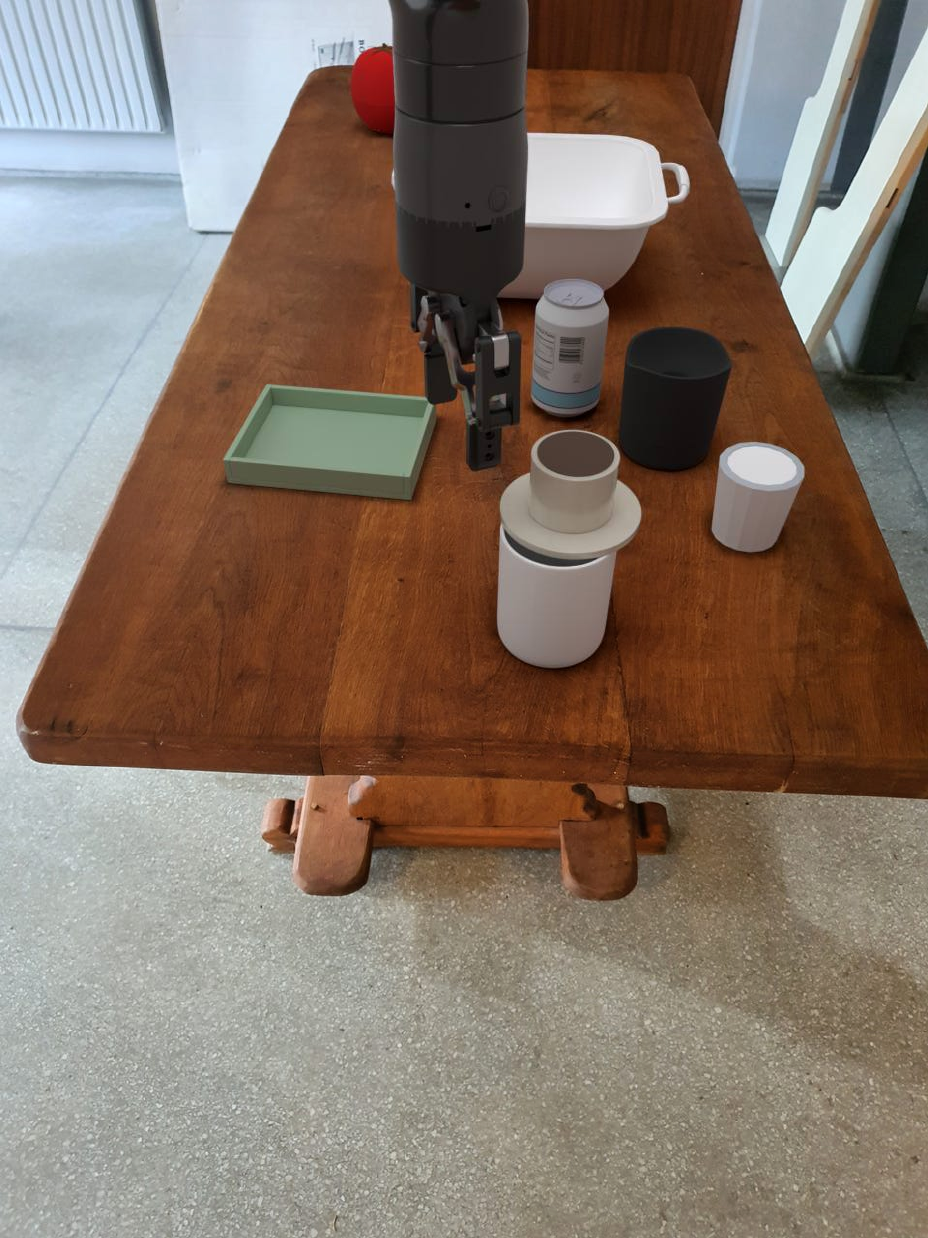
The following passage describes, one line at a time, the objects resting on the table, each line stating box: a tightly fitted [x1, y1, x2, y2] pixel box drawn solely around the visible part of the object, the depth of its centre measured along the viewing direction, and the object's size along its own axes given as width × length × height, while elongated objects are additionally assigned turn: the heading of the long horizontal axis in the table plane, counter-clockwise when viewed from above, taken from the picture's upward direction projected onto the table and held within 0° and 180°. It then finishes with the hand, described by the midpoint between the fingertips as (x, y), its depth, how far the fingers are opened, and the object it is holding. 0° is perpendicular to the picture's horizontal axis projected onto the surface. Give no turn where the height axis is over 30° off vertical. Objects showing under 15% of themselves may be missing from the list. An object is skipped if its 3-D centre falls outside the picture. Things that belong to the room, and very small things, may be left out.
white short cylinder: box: [711, 441, 806, 553], centre depth 79 cm, size 7×7×7 cm
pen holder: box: [618, 325, 733, 471], centre depth 88 cm, size 9×9×10 cm
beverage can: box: [530, 279, 610, 418], centre depth 92 cm, size 7×7×12 cm
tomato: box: [349, 42, 396, 135], centre depth 152 cm, size 12×12×13 cm
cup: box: [496, 521, 618, 669], centre depth 71 cm, size 8×12×10 cm
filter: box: [499, 429, 642, 560], centre depth 65 cm, size 10×10×5 cm
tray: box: [222, 383, 437, 501], centre depth 90 cm, size 17×13×3 cm
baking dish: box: [391, 132, 691, 300], centre depth 113 cm, size 34×28×13 cm
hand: (461, 432), depth 65 cm, fingers open, 8 cm apart
